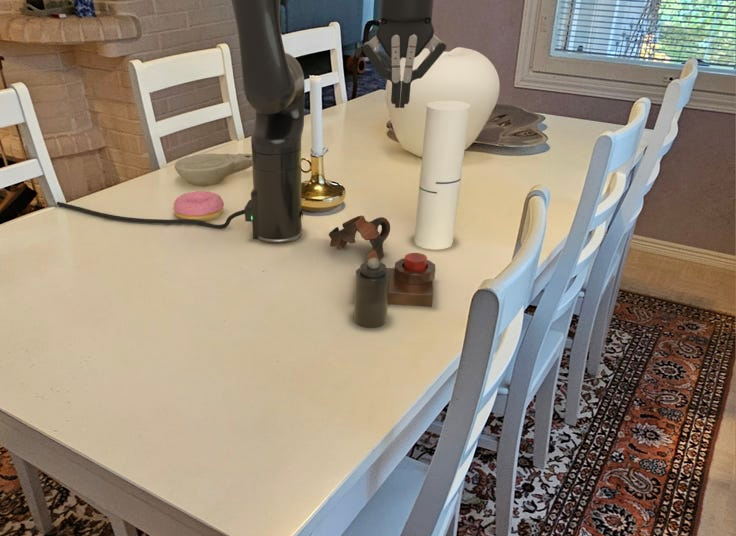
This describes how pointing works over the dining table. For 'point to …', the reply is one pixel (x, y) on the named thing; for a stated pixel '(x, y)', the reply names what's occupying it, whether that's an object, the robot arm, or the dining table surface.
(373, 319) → the pepper mill
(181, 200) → the doughnut
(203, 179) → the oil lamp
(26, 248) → the dining table surface
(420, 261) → the button
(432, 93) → the vase
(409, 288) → the button box
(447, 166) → the cylindrical container
